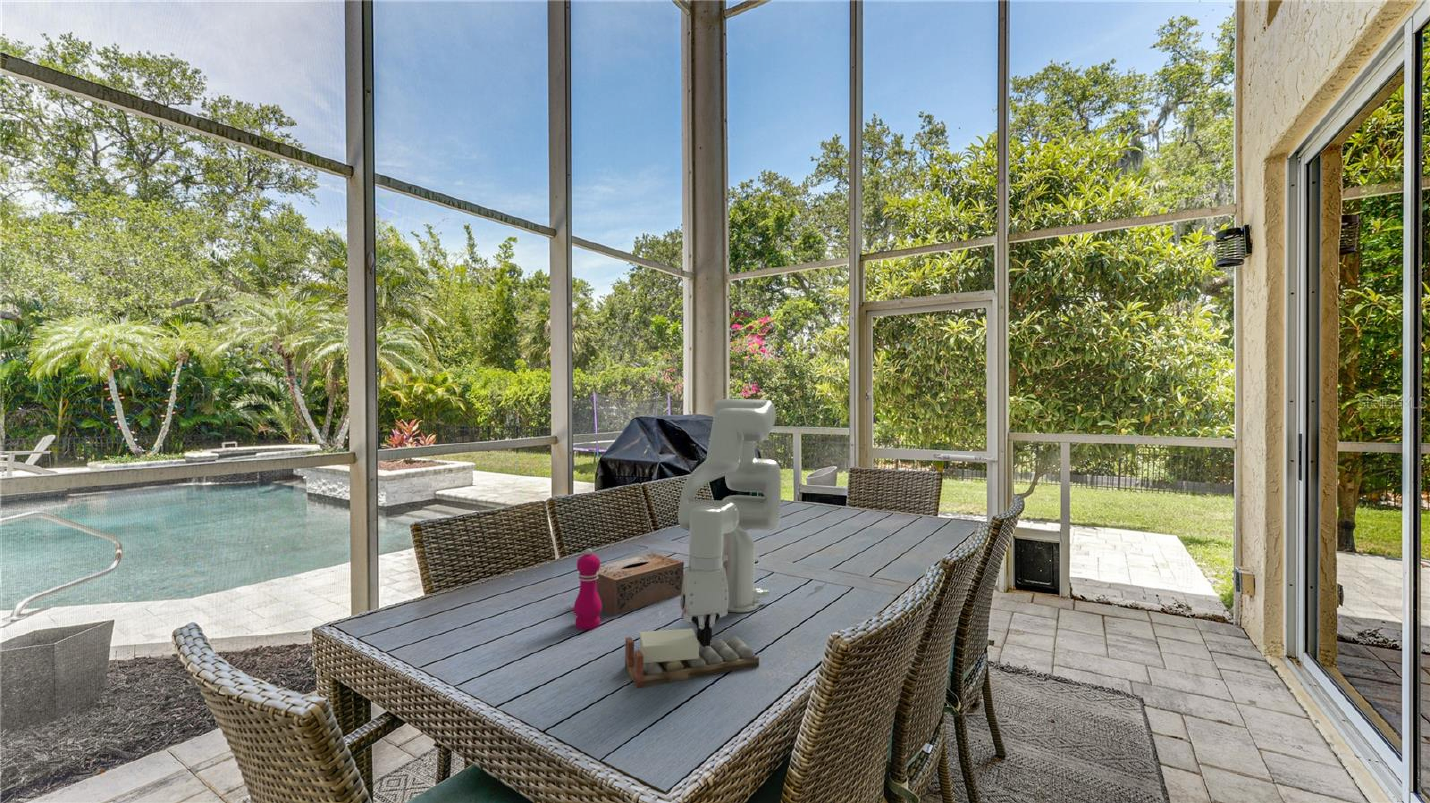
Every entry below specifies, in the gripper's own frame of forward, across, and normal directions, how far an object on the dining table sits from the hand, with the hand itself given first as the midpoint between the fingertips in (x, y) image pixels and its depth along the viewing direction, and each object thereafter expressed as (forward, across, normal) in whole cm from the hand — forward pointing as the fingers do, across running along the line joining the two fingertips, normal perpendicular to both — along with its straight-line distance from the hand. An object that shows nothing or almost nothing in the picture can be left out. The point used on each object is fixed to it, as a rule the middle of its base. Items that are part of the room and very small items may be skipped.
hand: (704, 643), depth 134 cm
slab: (+1, +8, -1) cm, 8 cm away
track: (+5, +3, 0) cm, 5 cm away
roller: (+3, +8, 0) cm, 8 cm away
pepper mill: (+5, +20, -32) cm, 38 cm away
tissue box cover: (+5, +2, -48) cm, 49 cm away
